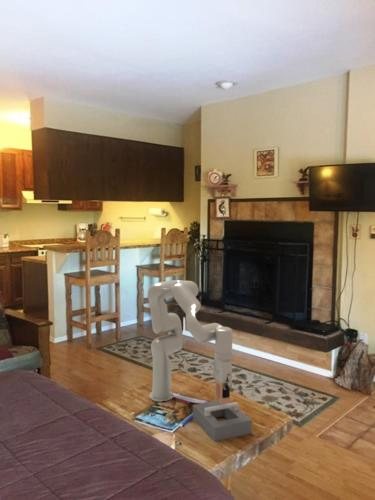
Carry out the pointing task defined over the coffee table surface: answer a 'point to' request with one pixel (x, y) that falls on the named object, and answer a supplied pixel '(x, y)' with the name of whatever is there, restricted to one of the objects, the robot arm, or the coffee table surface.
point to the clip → (220, 392)
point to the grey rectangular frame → (224, 429)
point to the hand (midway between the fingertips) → (222, 394)
